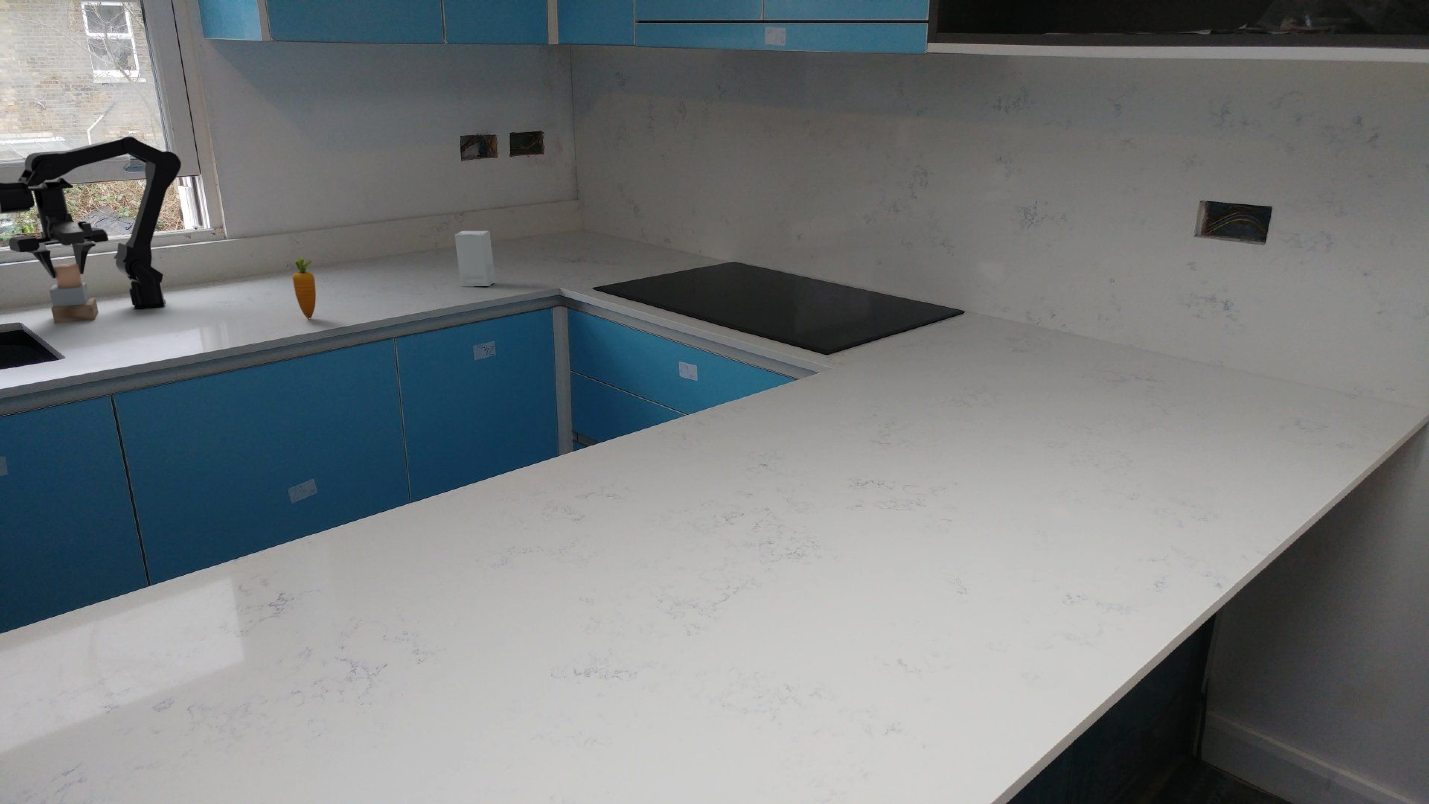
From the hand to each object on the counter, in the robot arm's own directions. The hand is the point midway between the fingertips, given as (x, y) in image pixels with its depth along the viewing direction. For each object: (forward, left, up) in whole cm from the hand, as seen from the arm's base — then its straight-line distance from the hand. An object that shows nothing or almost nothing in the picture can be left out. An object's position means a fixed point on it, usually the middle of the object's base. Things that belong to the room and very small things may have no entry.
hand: (67, 276), depth 222 cm
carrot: (-50, +24, -10) cm, 56 cm away
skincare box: (-95, +3, -10) cm, 96 cm away
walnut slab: (0, 0, -10) cm, 10 cm away
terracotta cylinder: (0, 0, -2) cm, 2 cm away
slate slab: (0, 0, -6) cm, 6 cm away
